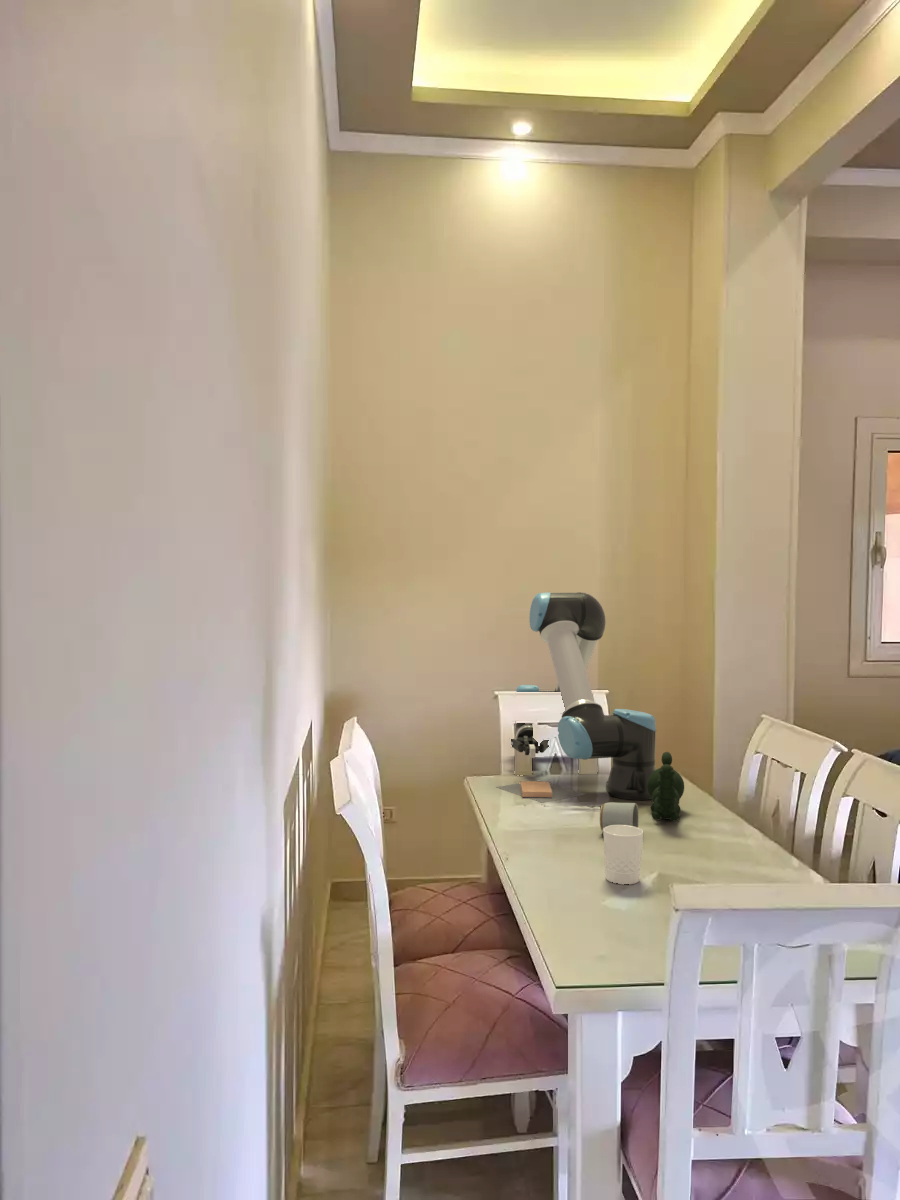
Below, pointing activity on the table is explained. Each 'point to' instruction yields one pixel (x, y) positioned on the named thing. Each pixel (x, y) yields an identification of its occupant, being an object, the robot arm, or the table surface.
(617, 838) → the white cup
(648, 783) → the toy figurine
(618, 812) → the ceramic mug
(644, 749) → the robot arm
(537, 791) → the tile
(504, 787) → the mat
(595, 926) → the table surface
